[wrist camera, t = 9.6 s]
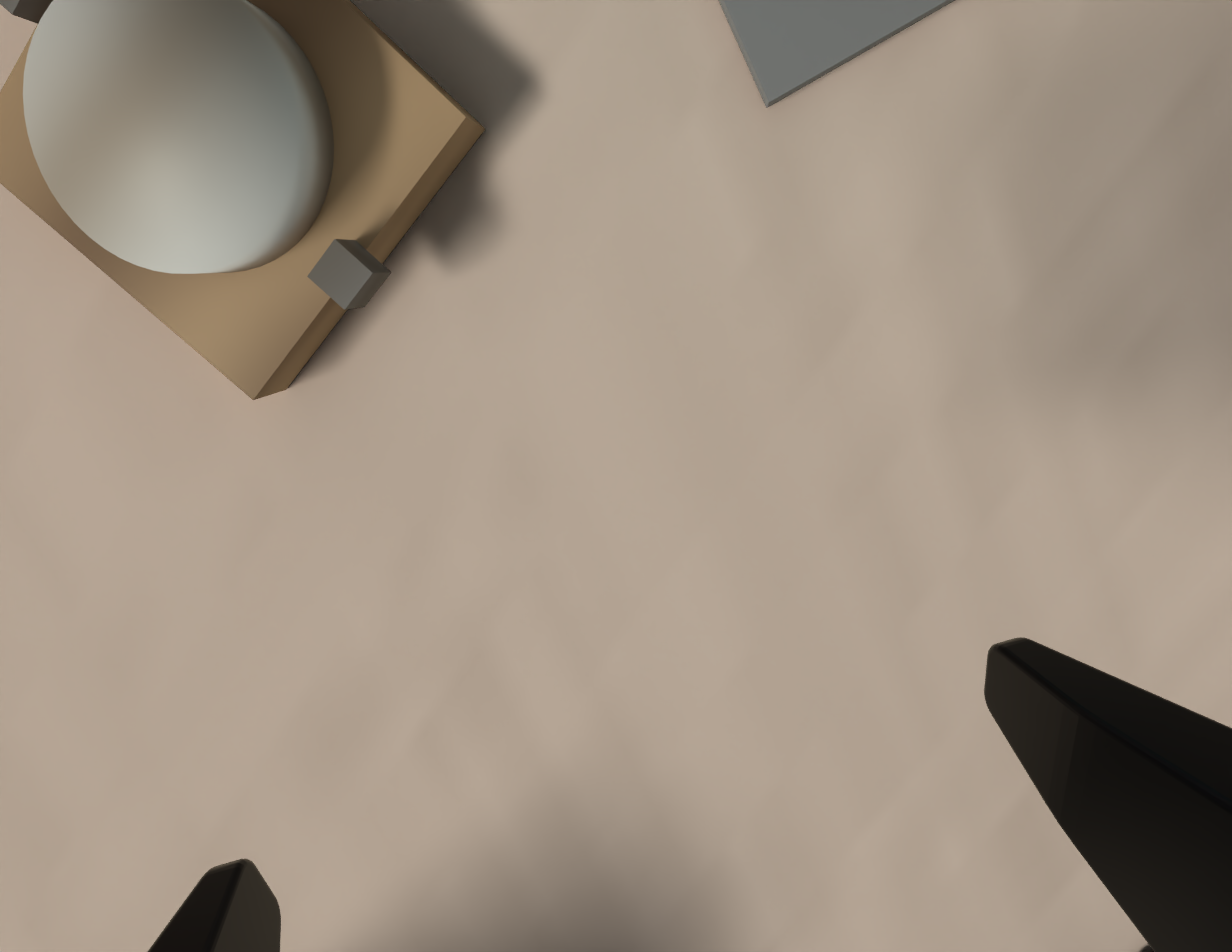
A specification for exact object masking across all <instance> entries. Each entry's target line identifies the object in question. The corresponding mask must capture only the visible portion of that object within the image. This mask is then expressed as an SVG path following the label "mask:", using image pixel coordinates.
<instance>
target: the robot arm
mask: <svg viewBox="0 0 1232 952" xmlns="http://www.w3.org/2000/svg"><path fill="white" fill-rule="evenodd" d="M984 695H985V700H986V704H987V706H988V709H989V711H990V713H991V714H992V716H993V718H994V719H995V721H996V723H997V724H998V726H999V728H1000V729H1001V731H1002V732H1003V734H1004V736H1005V737H1006V739H1007V741H1008V742H1009V744H1010V746H1011V747H1012V749H1013V750H1014V752H1015V754H1016V755H1017V757H1018V759H1019V760H1020V762H1021V764H1022V765H1023V767H1024V768H1025V770H1026V772H1027V773H1028V775H1029V777H1030V778H1031V780H1032V782H1033V783H1034V785H1035V787H1036V788H1037V790H1038V791H1039V793H1040V795H1041V796H1042V798H1043V800H1044V801H1045V803H1046V805H1047V806H1048V808H1049V809H1050V811H1051V812H1052V814H1053V815H1054V817H1055V818H1056V820H1057V822H1058V823H1059V825H1060V826H1061V827H1062V829H1063V830H1064V832H1065V833H1066V834H1067V836H1068V837H1069V838H1070V840H1071V841H1072V843H1073V844H1074V845H1075V847H1076V848H1077V849H1078V851H1079V852H1080V853H1081V855H1082V856H1083V857H1084V859H1085V860H1086V861H1087V863H1088V864H1089V865H1090V867H1091V868H1092V869H1093V871H1094V872H1095V873H1096V875H1097V876H1098V877H1099V878H1100V880H1101V881H1102V882H1103V884H1104V885H1105V886H1106V888H1107V889H1108V890H1109V892H1110V893H1111V894H1112V896H1113V897H1114V898H1115V900H1116V901H1117V902H1118V904H1119V905H1120V906H1121V908H1122V909H1123V910H1124V912H1125V913H1126V914H1127V916H1128V917H1129V918H1130V920H1131V921H1132V922H1133V924H1134V925H1135V926H1136V928H1137V929H1138V930H1139V932H1140V933H1141V934H1142V936H1143V937H1144V938H1145V940H1146V941H1147V942H1148V944H1149V945H1150V946H1151V948H1152V949H1153V950H1154V952H1232V728H1230V727H1228V726H1225V725H1223V724H1221V723H1219V722H1216V721H1214V720H1212V719H1209V718H1207V717H1205V716H1203V715H1200V714H1198V713H1196V712H1194V711H1191V710H1189V709H1187V708H1184V707H1182V706H1180V705H1178V704H1175V703H1173V702H1171V701H1169V700H1166V699H1164V698H1162V697H1160V696H1157V695H1155V694H1153V693H1150V692H1148V691H1146V690H1144V689H1141V688H1139V687H1137V686H1135V685H1132V684H1130V683H1128V682H1125V681H1123V680H1121V679H1119V678H1116V677H1114V676H1112V675H1110V674H1107V673H1105V672H1103V671H1101V670H1098V669H1096V668H1094V667H1091V666H1089V665H1087V664H1085V663H1082V662H1080V661H1078V660H1076V659H1073V658H1071V657H1069V656H1066V655H1064V654H1062V653H1060V652H1057V651H1055V650H1053V649H1051V648H1048V647H1046V646H1044V645H1042V644H1039V643H1037V642H1035V641H1032V640H1030V639H1027V638H1014V639H1011V640H1007V641H1004V642H1000V643H997V644H994V645H992V646H991V648H990V649H989V651H988V657H987V667H986V678H985V688H984ZM280 932H281V916H280V909H279V905H278V902H277V899H276V897H275V896H274V894H273V893H272V891H271V889H270V888H269V886H268V885H267V883H266V882H265V880H264V879H263V877H262V875H261V874H260V872H259V871H258V869H257V868H256V866H255V865H254V863H253V862H252V861H250V860H248V859H240V860H236V861H233V862H229V863H226V864H222V865H219V866H216V867H213V868H211V869H210V870H209V871H208V872H206V873H205V874H204V876H203V877H202V878H201V879H200V881H199V882H198V884H197V885H196V886H195V888H194V889H193V890H192V892H191V893H190V894H189V896H188V897H187V899H186V900H185V901H184V903H183V904H182V905H181V907H180V908H179V910H178V911H177V912H176V914H175V915H174V916H173V918H172V919H171V920H170V922H169V923H168V925H167V926H166V927H165V929H164V930H163V931H162V933H161V934H160V935H159V937H158V938H157V940H156V941H155V942H154V944H153V945H152V946H151V948H150V949H149V951H148V952H280Z"/></svg>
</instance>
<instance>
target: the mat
mask: <svg viewBox="0 0 1232 952" xmlns="http://www.w3.org/2000/svg"><path fill="white" fill-rule="evenodd" d="M953 1H954V0H719V2H720V5H721V7H722V9H723V11H724V14H725V16H726V18H727V20H728V23H729V25H730V27H731V29H732V32H733V34H734V36H735V38H736V41H737V43H738V45H739V47H740V49H741V52H742V54H743V56H744V58H745V61H746V63H747V65H748V67H749V70H750V72H751V74H752V76H753V79H754V81H755V83H756V85H757V88H758V90H759V92H760V94H761V97H762V99H763V101H764V103H765V106H766V108H767V107H769V106H771V105H772V104H774V103H776V102H778V101H779V100H781V99H783V98H785V97H786V96H788V95H790V94H792V93H793V92H795V91H797V90H799V89H800V88H802V87H804V86H806V85H807V84H809V83H811V82H813V81H814V80H816V79H818V78H820V77H821V76H823V75H825V74H827V73H828V72H830V71H832V70H834V69H835V68H837V67H839V66H841V65H842V64H844V63H846V62H848V61H849V60H851V59H853V58H855V57H856V56H858V55H860V54H862V53H863V52H865V51H867V50H869V49H870V48H872V47H874V46H876V45H877V44H879V43H881V42H883V41H884V40H886V39H888V38H890V37H891V36H893V35H895V34H897V33H898V32H900V31H902V30H904V29H905V28H907V27H909V26H911V25H912V24H914V23H916V22H918V21H919V20H921V19H923V18H925V17H926V16H928V15H930V14H932V13H933V12H935V11H937V10H939V9H940V8H942V7H944V6H946V5H947V4H949V3H951V2H953Z"/></svg>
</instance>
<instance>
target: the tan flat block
mask: <svg viewBox="0 0 1232 952" xmlns="http://www.w3.org/2000/svg"><path fill="white" fill-rule="evenodd" d="M0 4H1V5H2V6H3V7H4V8H6V9H7V10H8V11H9V12H10V13H11V14H13V15H15V16H18V17H21V18H24V19H27V20H29V21H32V22H35V23H38V25H37V26H36V28H35V30H34V32H33V34H32V36H31V37H30V39H29V41H28V43H27V45H26V46H25V48H24V50H23V52H22V54H21V55H20V57H19V59H18V61H17V63H16V65H15V66H14V68H13V70H12V72H11V74H10V75H9V77H8V79H7V81H6V83H5V84H4V86H3V88H2V90H1V92H0V183H1V184H2V185H3V186H4V187H5V188H6V189H8V190H9V191H10V192H11V193H12V194H13V195H15V196H16V197H17V198H18V199H19V200H20V201H22V202H23V203H24V204H25V205H26V206H27V207H29V208H30V209H31V210H32V211H33V212H34V213H36V214H37V215H38V216H39V217H40V218H41V219H43V220H44V221H45V222H46V223H47V224H48V225H50V226H51V227H52V228H53V229H54V230H55V231H57V232H58V233H59V234H60V235H61V236H62V237H64V238H65V239H66V240H67V241H68V242H69V243H71V244H72V245H73V246H74V247H75V248H76V249H78V250H79V251H80V252H81V253H82V254H83V255H85V256H86V257H87V258H88V259H89V260H90V261H92V262H93V263H94V264H95V265H96V266H97V267H99V268H100V269H101V270H102V271H103V272H104V273H106V274H107V275H108V276H109V277H110V278H111V279H113V280H114V281H115V282H116V283H117V284H118V285H120V286H121V287H122V288H123V289H124V290H125V291H127V292H128V293H129V294H130V295H131V296H132V297H134V298H135V299H136V300H137V301H138V302H139V303H141V304H142V305H143V306H144V307H145V308H146V309H148V310H149V311H150V312H151V313H152V314H153V315H155V316H156V317H157V318H158V319H159V320H160V321H162V322H163V323H164V324H165V325H166V326H167V327H169V328H170V329H171V330H172V331H173V332H174V333H176V334H177V335H178V336H179V337H180V338H181V339H183V340H184V341H185V342H186V343H187V344H188V345H190V346H191V347H192V348H193V349H194V350H195V351H196V352H198V353H199V354H200V355H201V356H202V357H203V358H205V359H206V360H207V361H208V362H209V363H210V364H212V365H213V366H214V367H215V368H216V369H217V370H219V371H220V372H221V373H222V374H223V375H224V376H226V377H227V378H228V379H229V380H230V381H231V382H233V383H234V384H235V385H236V386H237V387H238V388H240V389H241V390H242V391H243V392H244V393H245V394H247V395H248V396H249V397H250V398H251V399H252V400H255V399H258V398H261V397H264V396H268V395H271V394H274V393H277V392H280V391H283V390H286V389H287V388H288V386H289V385H290V384H291V383H292V381H293V380H294V379H295V377H296V376H297V375H298V373H299V372H300V371H301V369H302V368H303V367H304V366H305V364H306V363H307V362H308V360H309V359H310V358H311V356H312V355H313V354H314V352H315V351H316V350H317V349H318V347H319V346H320V345H321V343H322V342H323V341H324V339H325V338H326V337H327V335H328V334H329V333H330V332H331V330H332V329H333V328H334V326H335V325H336V324H337V322H338V321H339V320H340V318H341V317H342V316H343V315H344V313H345V312H346V311H347V309H354V308H361V307H365V306H366V304H367V303H368V302H369V300H370V299H371V298H372V297H373V295H374V294H375V293H376V291H377V290H378V289H379V287H380V286H381V285H382V284H383V282H384V281H385V280H386V278H387V277H388V276H389V274H390V273H391V272H390V271H389V270H388V269H387V268H386V267H385V266H384V265H383V262H384V261H385V260H386V258H387V257H388V256H389V254H390V253H391V252H392V250H393V249H394V248H395V247H396V245H397V244H398V243H399V241H400V240H401V239H402V237H403V236H404V235H405V233H406V232H407V231H408V230H409V228H410V227H411V226H412V224H413V223H414V222H415V220H416V219H417V218H418V216H419V215H420V214H421V213H422V211H423V210H424V209H425V207H426V206H427V205H428V203H429V202H430V201H431V199H432V198H433V197H434V196H435V194H436V193H437V192H438V190H439V189H440V188H441V186H442V185H443V184H444V182H445V181H446V180H447V179H448V177H449V176H450V175H451V173H452V172H453V171H454V169H455V168H456V167H457V165H458V164H459V163H460V162H461V160H462V159H463V158H464V156H465V155H466V154H467V152H468V151H469V150H470V148H471V147H472V146H473V145H474V143H475V142H476V141H477V139H478V138H479V137H480V135H481V134H482V133H483V131H484V130H485V128H484V127H483V126H482V125H481V124H480V123H478V122H477V121H476V120H475V119H474V118H473V117H472V116H471V115H470V114H469V113H468V112H467V111H466V110H465V109H464V108H463V107H462V106H461V105H459V104H458V103H457V102H456V101H455V100H454V99H453V98H452V97H451V96H450V95H449V94H448V93H447V92H446V91H445V90H444V89H443V88H442V87H440V86H439V85H438V84H437V83H436V82H435V81H434V80H433V79H432V78H431V77H430V76H429V75H428V74H427V73H426V72H425V71H424V70H422V69H421V68H420V67H419V66H418V65H417V64H416V63H415V62H414V61H413V60H412V59H411V58H410V57H409V56H408V55H407V54H406V53H405V52H403V51H402V50H401V49H400V48H399V47H398V46H397V45H396V44H395V43H394V42H393V41H392V40H391V39H390V38H389V37H388V36H387V35H386V34H384V33H383V32H382V31H381V30H380V29H379V28H378V27H377V26H376V25H375V24H374V23H373V22H372V21H371V20H370V19H369V18H368V17H367V16H365V15H364V14H363V13H362V12H361V11H360V10H359V9H358V8H357V7H356V6H355V5H354V4H353V3H352V2H351V1H350V0H0Z"/></svg>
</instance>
